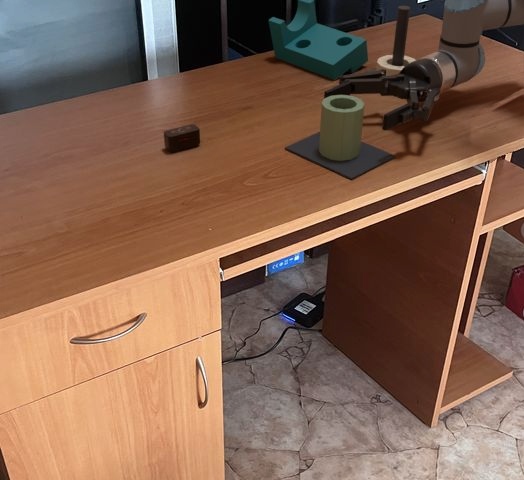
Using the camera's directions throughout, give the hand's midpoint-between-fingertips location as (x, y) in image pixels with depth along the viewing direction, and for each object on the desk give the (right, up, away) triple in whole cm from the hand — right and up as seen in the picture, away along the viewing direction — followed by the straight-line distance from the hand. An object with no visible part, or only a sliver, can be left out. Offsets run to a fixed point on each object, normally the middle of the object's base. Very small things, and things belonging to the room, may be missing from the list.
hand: (354, 110), depth 138 cm
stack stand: (+12, +15, +29) cm, 35 cm away
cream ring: (+12, +16, +28) cm, 35 cm away
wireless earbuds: (-31, -5, +6) cm, 31 cm away
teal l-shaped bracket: (-4, +21, +36) cm, 42 cm away
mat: (-2, -7, +3) cm, 8 cm away
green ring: (-2, -6, +3) cm, 7 cm away
